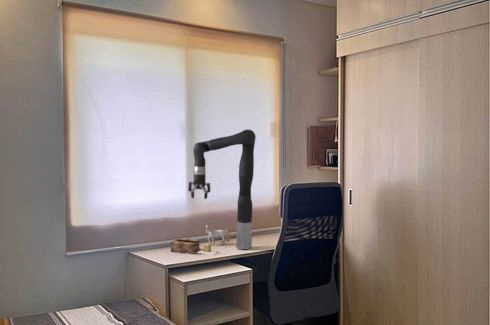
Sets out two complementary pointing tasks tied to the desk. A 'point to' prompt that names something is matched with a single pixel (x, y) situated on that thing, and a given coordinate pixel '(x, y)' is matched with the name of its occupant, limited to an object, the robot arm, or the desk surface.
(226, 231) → the unicorn figurine
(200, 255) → the desk surface
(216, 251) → the desk surface
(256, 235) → the desk surface
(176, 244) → the walnut box
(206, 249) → the slate lid
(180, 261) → the desk surface
